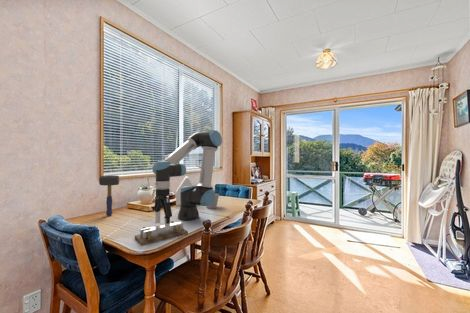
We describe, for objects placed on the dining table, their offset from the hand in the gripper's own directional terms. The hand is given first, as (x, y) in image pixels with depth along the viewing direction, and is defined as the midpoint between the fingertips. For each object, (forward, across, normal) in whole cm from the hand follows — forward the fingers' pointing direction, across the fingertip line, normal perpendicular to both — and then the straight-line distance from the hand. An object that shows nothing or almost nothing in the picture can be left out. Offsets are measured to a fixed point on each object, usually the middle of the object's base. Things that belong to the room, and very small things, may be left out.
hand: (162, 225), depth 122 cm
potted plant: (+6, -38, +59) cm, 71 cm away
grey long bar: (+4, 0, +1) cm, 4 cm away
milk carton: (+6, -66, +50) cm, 83 cm away
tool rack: (+6, 0, 0) cm, 6 cm away
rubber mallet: (+6, -64, -15) cm, 66 cm away
